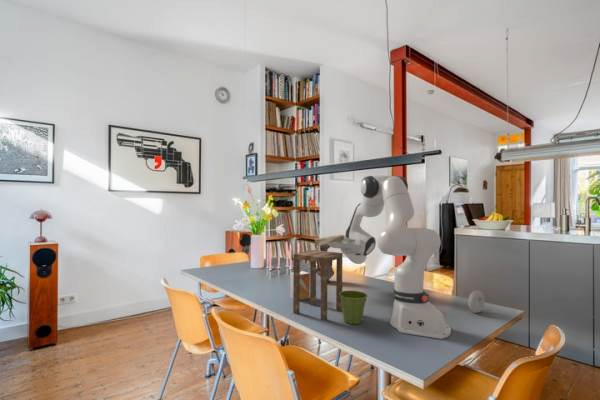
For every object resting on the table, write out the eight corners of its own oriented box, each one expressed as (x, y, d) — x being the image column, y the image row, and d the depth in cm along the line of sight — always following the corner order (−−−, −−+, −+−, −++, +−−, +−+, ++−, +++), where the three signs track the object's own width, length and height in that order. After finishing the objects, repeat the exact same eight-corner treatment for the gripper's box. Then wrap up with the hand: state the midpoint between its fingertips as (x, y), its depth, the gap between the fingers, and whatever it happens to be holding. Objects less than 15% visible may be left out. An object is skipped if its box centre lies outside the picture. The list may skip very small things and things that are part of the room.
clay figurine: (326, 279, 206) (327, 240, 206) (338, 282, 199) (338, 241, 199) (312, 282, 198) (312, 241, 198) (323, 285, 190) (323, 243, 191)
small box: (296, 301, 159) (296, 274, 160) (289, 297, 165) (290, 272, 165) (309, 298, 164) (310, 273, 164) (302, 295, 169) (303, 270, 169)
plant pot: (362, 329, 124) (362, 300, 125) (334, 323, 130) (334, 295, 130) (371, 319, 135) (371, 292, 135) (344, 314, 141) (345, 288, 141)
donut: (474, 316, 140) (474, 293, 140) (466, 313, 143) (466, 291, 143) (486, 311, 146) (486, 289, 146) (478, 309, 149) (478, 288, 149)
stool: (342, 310, 146) (342, 253, 147) (324, 320, 133) (325, 257, 133) (312, 303, 155) (312, 249, 156) (293, 313, 142) (293, 254, 142)
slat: (344, 239, 163) (344, 235, 163) (320, 245, 143) (320, 239, 143) (339, 239, 165) (339, 234, 165) (314, 244, 145) (314, 239, 145)
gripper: (333, 240, 179) (323, 230, 169) (368, 243, 167) (359, 232, 157) (330, 251, 176) (319, 241, 166) (366, 255, 165) (356, 244, 155)
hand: (339, 236), depth 162 cm, fingers closed on slat, 3 cm apart
